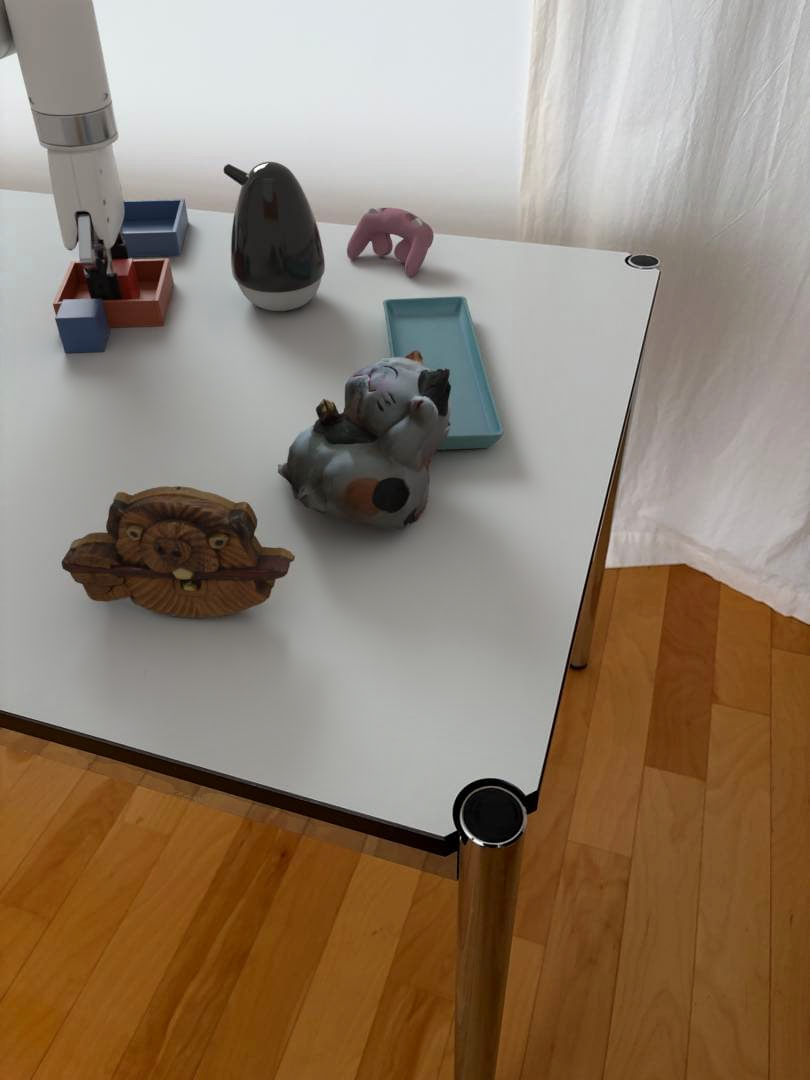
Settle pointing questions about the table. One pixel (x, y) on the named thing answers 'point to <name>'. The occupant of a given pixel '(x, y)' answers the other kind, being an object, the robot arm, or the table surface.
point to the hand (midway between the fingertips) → (113, 292)
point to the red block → (126, 278)
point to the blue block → (82, 325)
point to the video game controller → (395, 222)
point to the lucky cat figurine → (374, 444)
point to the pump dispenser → (274, 239)
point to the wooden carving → (178, 554)
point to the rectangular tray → (448, 363)
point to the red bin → (131, 312)
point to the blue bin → (154, 227)
